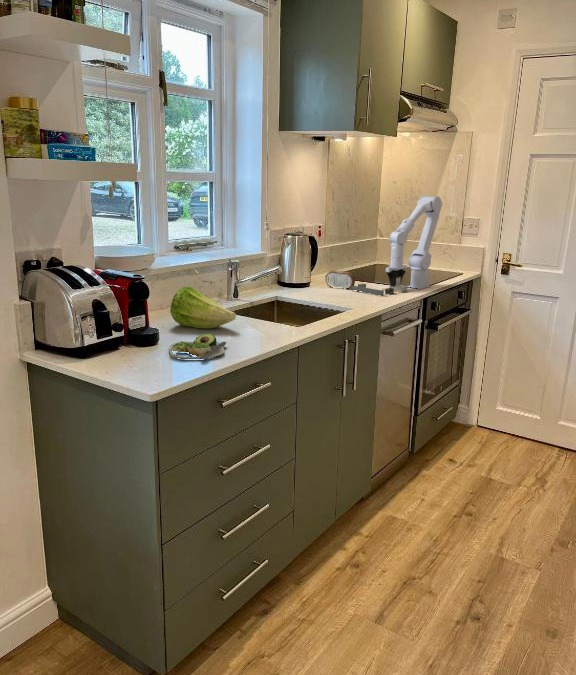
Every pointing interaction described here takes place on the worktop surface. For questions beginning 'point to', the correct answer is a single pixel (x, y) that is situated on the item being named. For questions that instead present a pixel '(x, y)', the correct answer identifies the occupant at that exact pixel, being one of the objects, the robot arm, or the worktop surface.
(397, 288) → the grey t-shaped block
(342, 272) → the tin
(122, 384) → the worktop surface
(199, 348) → the salad plate
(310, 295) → the worktop surface
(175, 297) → the lettuce
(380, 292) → the vise jaws
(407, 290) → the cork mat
